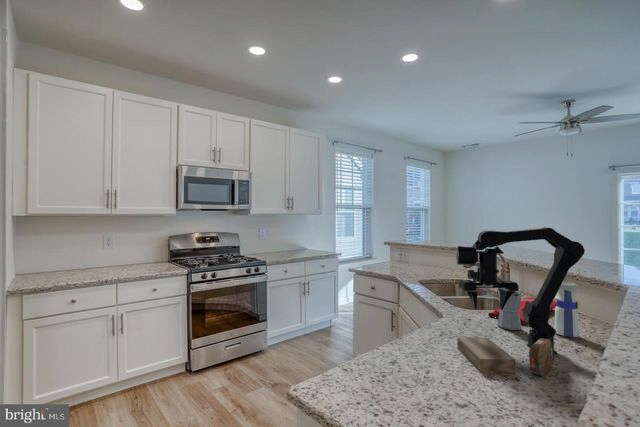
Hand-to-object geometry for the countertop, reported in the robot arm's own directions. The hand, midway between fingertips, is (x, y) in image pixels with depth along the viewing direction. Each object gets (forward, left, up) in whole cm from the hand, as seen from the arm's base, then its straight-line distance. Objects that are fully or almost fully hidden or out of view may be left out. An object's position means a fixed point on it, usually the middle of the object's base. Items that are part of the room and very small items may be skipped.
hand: (488, 309), depth 116 cm
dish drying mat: (-36, -40, -13) cm, 55 cm away
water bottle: (-35, -11, -12) cm, 39 cm away
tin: (-6, +20, -12) cm, 24 cm away
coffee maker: (-17, -19, -12) cm, 28 cm away
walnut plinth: (+8, +14, -12) cm, 20 cm away
